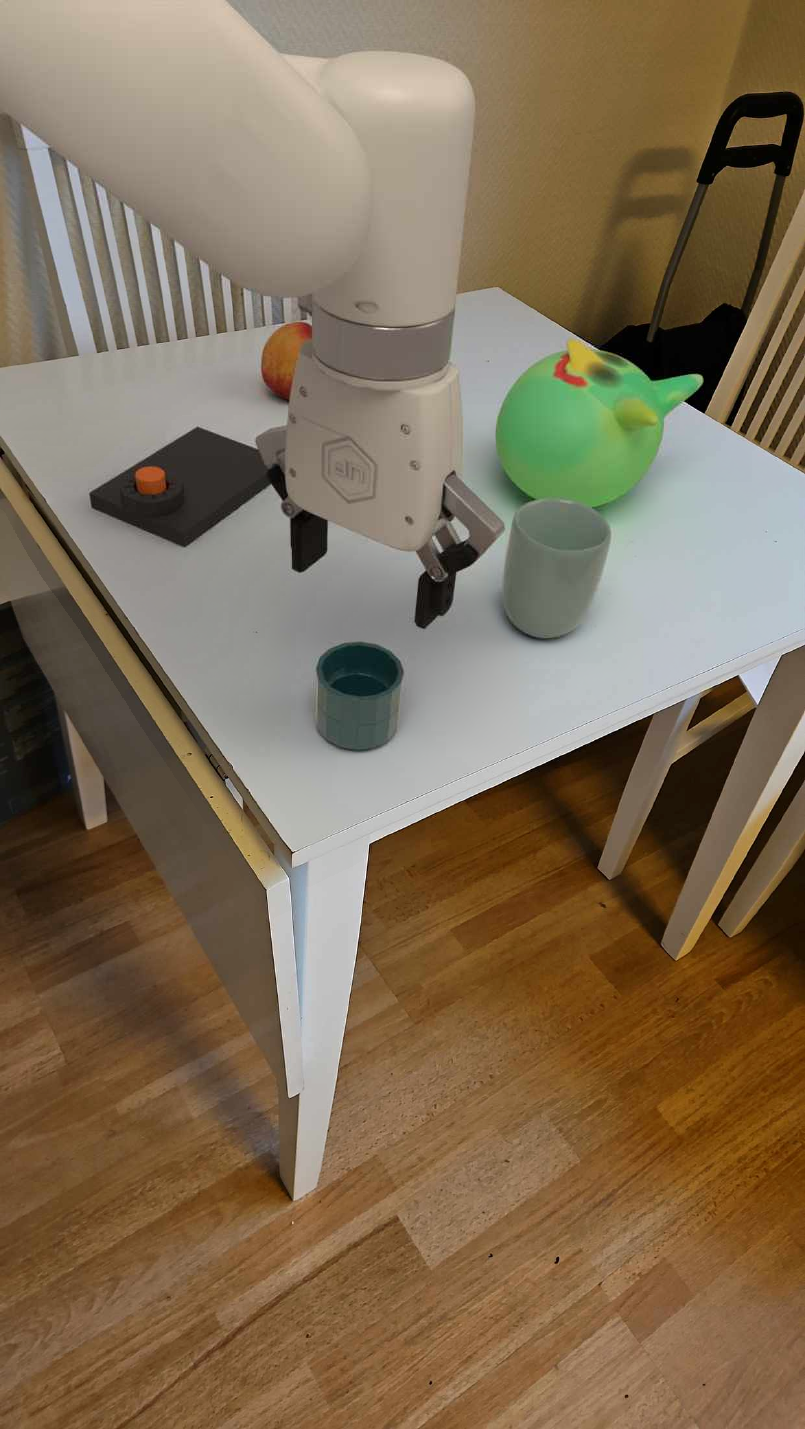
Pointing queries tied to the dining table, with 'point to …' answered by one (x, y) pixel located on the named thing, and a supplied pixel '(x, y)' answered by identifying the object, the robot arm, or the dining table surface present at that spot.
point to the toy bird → (584, 424)
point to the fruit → (283, 356)
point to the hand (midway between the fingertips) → (368, 589)
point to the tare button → (150, 480)
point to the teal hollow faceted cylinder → (358, 695)
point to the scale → (187, 486)
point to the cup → (553, 565)
